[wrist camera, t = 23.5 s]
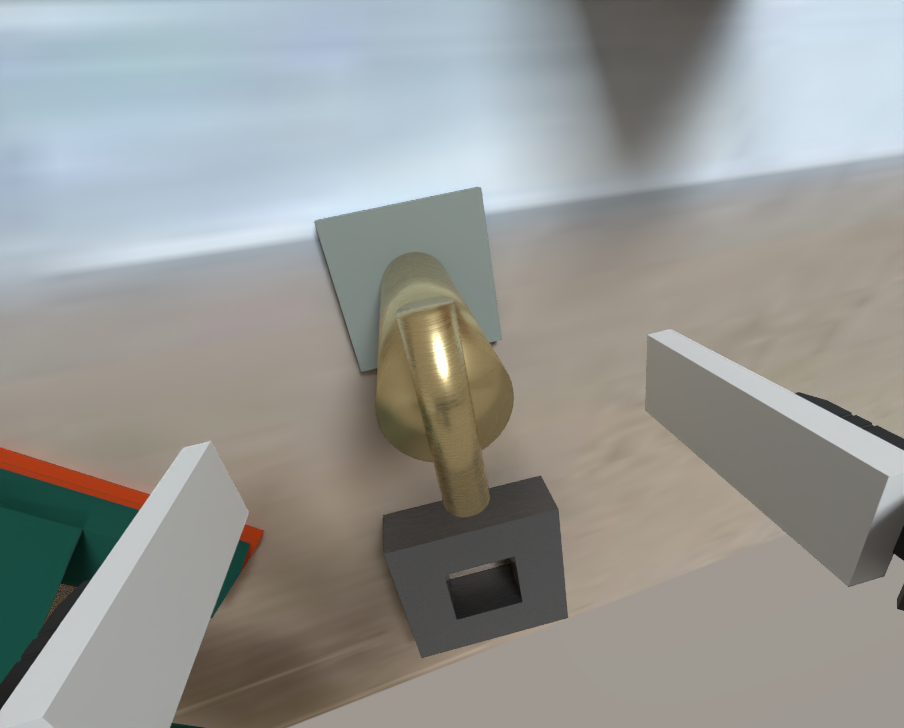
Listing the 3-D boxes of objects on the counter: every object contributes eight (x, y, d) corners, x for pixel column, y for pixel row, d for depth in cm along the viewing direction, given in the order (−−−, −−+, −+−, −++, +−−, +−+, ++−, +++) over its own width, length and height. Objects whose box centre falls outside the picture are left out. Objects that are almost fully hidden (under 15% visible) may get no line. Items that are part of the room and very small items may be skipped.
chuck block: (418, 616, 42) (421, 658, 38) (383, 515, 36) (383, 554, 32) (552, 580, 43) (567, 617, 39) (540, 475, 36) (558, 509, 33)
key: (395, 343, 28) (404, 532, 13) (367, 238, 25) (340, 335, 10) (458, 329, 28) (535, 500, 14) (439, 223, 25) (511, 297, 11)
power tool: (407, 571, 39) (430, 914, 21) (370, 618, 41) (362, 969, 23) (-4, 439, 28) (-706, 931, 10) (-29, 512, 30) (-653, 1034, 12)
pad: (361, 365, 29) (361, 372, 29) (316, 219, 25) (314, 221, 24) (498, 334, 30) (501, 339, 29) (477, 186, 26) (481, 187, 25)
